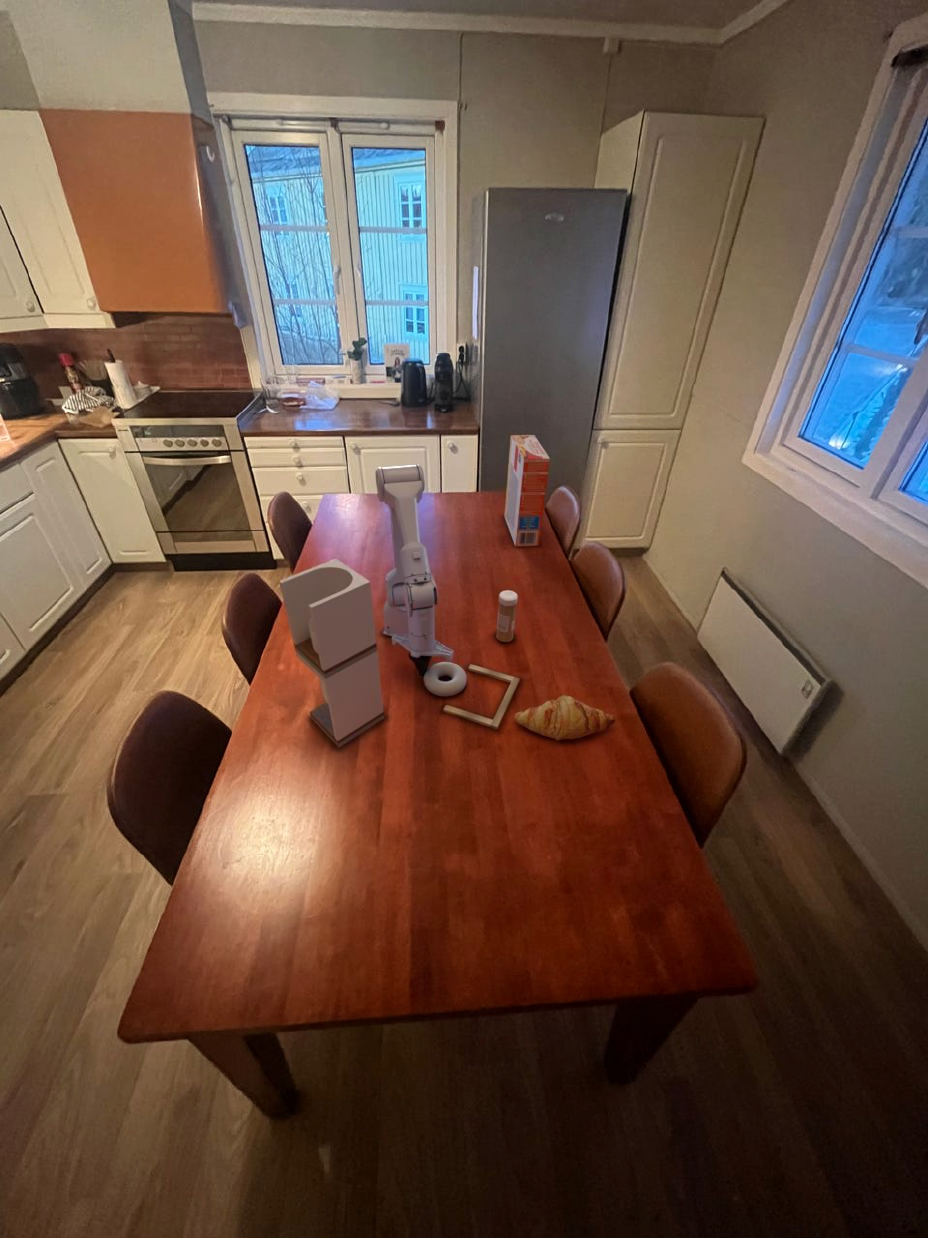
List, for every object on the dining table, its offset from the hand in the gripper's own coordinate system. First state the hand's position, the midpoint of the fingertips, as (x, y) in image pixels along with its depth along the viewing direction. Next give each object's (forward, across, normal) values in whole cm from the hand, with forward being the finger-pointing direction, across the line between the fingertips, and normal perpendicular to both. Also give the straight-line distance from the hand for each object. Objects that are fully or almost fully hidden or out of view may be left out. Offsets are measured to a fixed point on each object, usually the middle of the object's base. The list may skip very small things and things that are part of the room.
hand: (423, 674), depth 118 cm
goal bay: (+1, +15, 0) cm, 15 cm away
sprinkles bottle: (+1, +13, +22) cm, 25 cm away
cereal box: (+1, -2, +82) cm, 82 cm away
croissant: (+1, +34, -1) cm, 34 cm away
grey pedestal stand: (+1, -9, -18) cm, 20 cm away
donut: (+1, +6, 0) cm, 6 cm away
